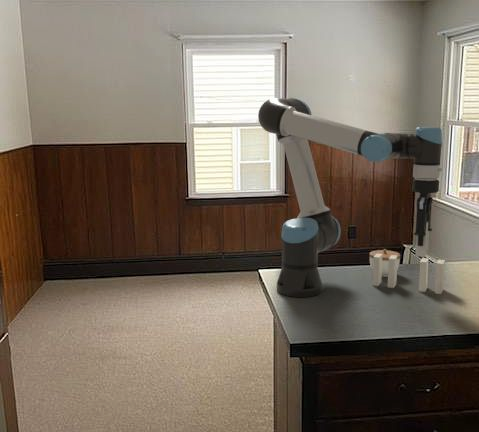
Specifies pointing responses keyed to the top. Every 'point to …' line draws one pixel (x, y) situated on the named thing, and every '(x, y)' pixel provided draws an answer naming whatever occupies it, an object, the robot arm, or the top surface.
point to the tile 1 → (377, 269)
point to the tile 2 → (392, 271)
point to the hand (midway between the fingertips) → (421, 253)
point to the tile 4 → (423, 274)
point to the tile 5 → (439, 276)
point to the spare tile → (426, 238)
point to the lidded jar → (384, 260)
